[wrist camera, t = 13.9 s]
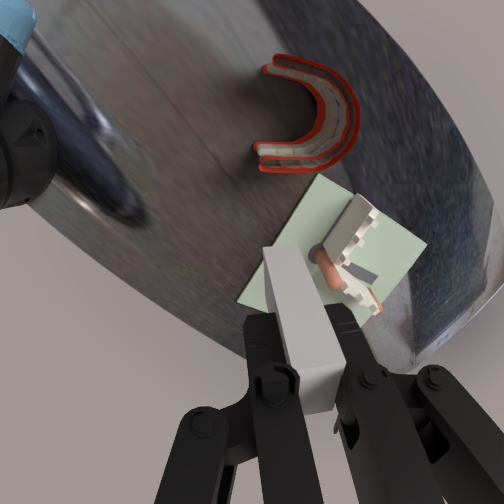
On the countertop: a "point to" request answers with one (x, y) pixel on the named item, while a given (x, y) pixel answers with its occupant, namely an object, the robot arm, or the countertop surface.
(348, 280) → the swing panel
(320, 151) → the toy
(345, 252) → the fixed fence
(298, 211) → the card
